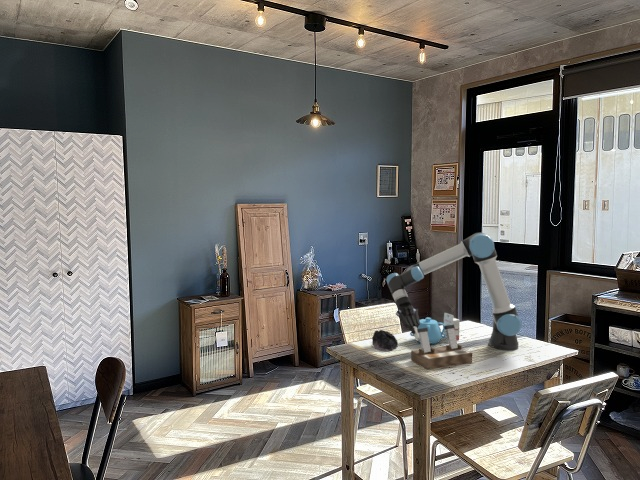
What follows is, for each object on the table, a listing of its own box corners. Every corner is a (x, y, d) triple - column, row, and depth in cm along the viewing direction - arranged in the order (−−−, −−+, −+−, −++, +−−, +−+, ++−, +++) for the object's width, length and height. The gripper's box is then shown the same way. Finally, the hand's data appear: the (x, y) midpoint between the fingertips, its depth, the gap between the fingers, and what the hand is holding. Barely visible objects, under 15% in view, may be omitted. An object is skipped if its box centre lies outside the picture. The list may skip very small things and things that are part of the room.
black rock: (402, 350, 258) (403, 332, 258) (380, 352, 252) (381, 333, 252) (388, 345, 270) (389, 328, 270) (367, 347, 264) (368, 328, 264)
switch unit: (454, 354, 250) (454, 341, 249) (472, 362, 237) (472, 348, 236) (411, 360, 240) (411, 346, 240) (427, 369, 227) (427, 355, 227)
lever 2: (456, 348, 244) (451, 325, 247) (458, 347, 242) (454, 324, 245) (448, 349, 242) (444, 326, 245) (451, 348, 240) (446, 325, 243)
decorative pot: (448, 343, 268) (449, 319, 267) (425, 347, 261) (426, 322, 260) (429, 336, 283) (430, 313, 282) (407, 339, 276) (407, 316, 275)
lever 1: (429, 351, 238) (424, 328, 241) (431, 351, 236) (427, 327, 239) (421, 352, 236) (417, 329, 239) (423, 352, 234) (419, 328, 237)
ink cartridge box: (459, 339, 275) (460, 314, 274) (452, 341, 273) (453, 315, 272) (449, 336, 283) (450, 311, 282) (442, 337, 281) (443, 312, 280)
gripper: (409, 302, 261) (426, 341, 247) (388, 304, 257) (404, 344, 243) (415, 294, 256) (432, 333, 242) (393, 296, 251) (410, 336, 237)
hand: (418, 339), depth 242 cm, fingers closed
